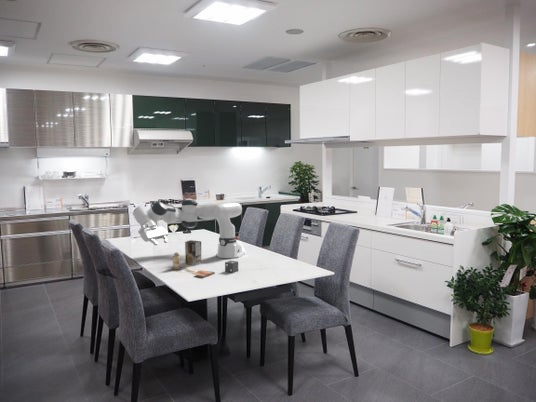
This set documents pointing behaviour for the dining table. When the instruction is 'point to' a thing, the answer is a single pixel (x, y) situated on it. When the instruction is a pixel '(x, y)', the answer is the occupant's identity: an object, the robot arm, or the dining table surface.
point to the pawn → (176, 261)
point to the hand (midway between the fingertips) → (161, 243)
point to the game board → (198, 274)
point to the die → (231, 266)
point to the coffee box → (193, 252)
